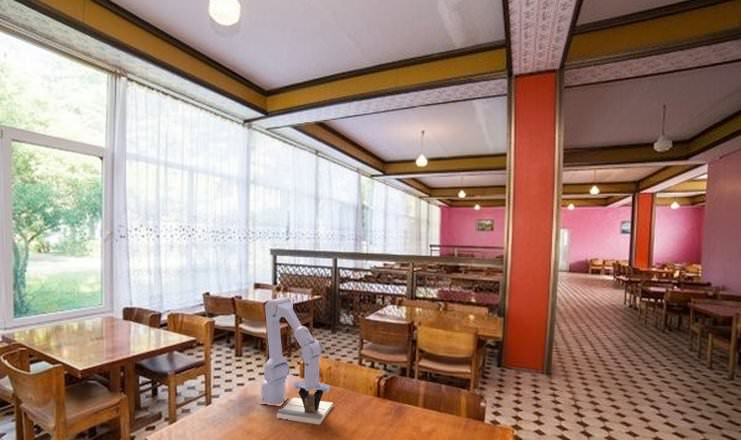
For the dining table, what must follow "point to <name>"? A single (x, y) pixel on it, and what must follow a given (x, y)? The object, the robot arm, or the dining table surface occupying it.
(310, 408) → the block
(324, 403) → the board
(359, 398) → the dining table surface
